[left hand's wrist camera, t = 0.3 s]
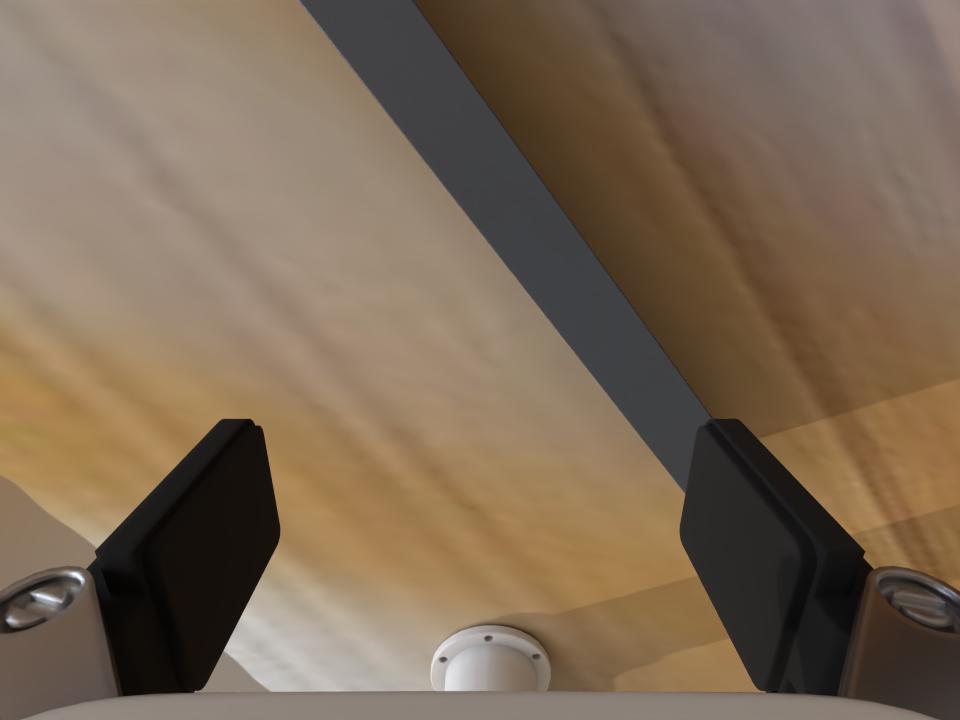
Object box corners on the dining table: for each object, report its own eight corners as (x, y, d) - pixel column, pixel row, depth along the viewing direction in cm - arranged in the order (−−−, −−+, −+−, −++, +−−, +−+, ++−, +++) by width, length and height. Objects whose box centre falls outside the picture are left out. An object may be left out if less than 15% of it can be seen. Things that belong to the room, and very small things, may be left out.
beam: (718, 436, 45) (764, 490, 38) (672, 465, 46) (708, 522, 39) (-58, -640, 24) (-287, -978, 17) (-110, -542, 25) (-346, -820, 18)
